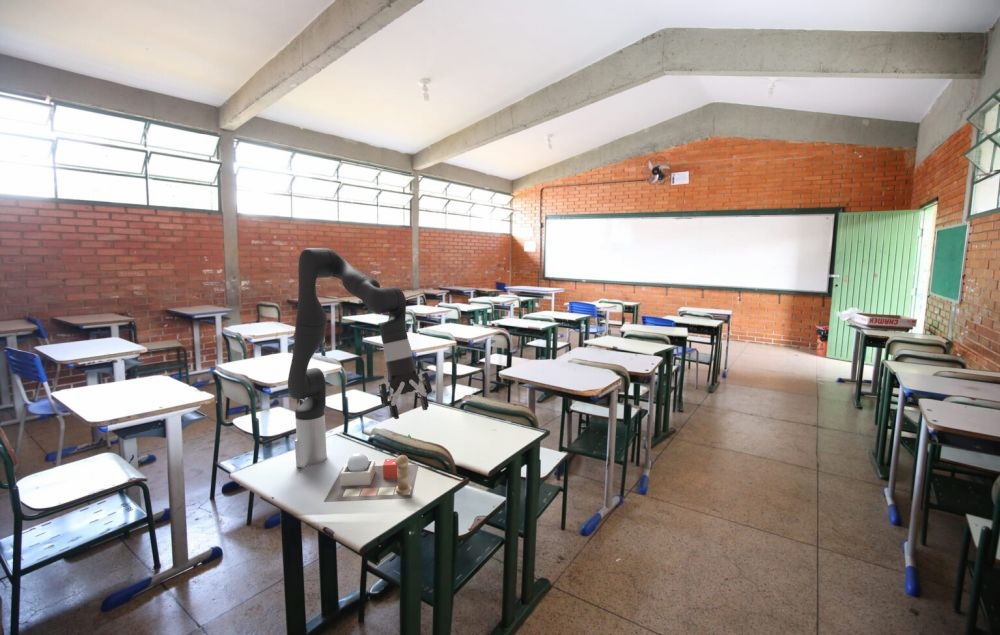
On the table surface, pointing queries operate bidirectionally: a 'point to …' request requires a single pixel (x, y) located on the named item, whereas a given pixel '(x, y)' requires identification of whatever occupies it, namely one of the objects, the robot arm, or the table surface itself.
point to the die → (390, 468)
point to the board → (372, 488)
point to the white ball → (358, 462)
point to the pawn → (402, 474)
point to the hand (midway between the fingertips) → (411, 414)
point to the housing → (358, 475)
